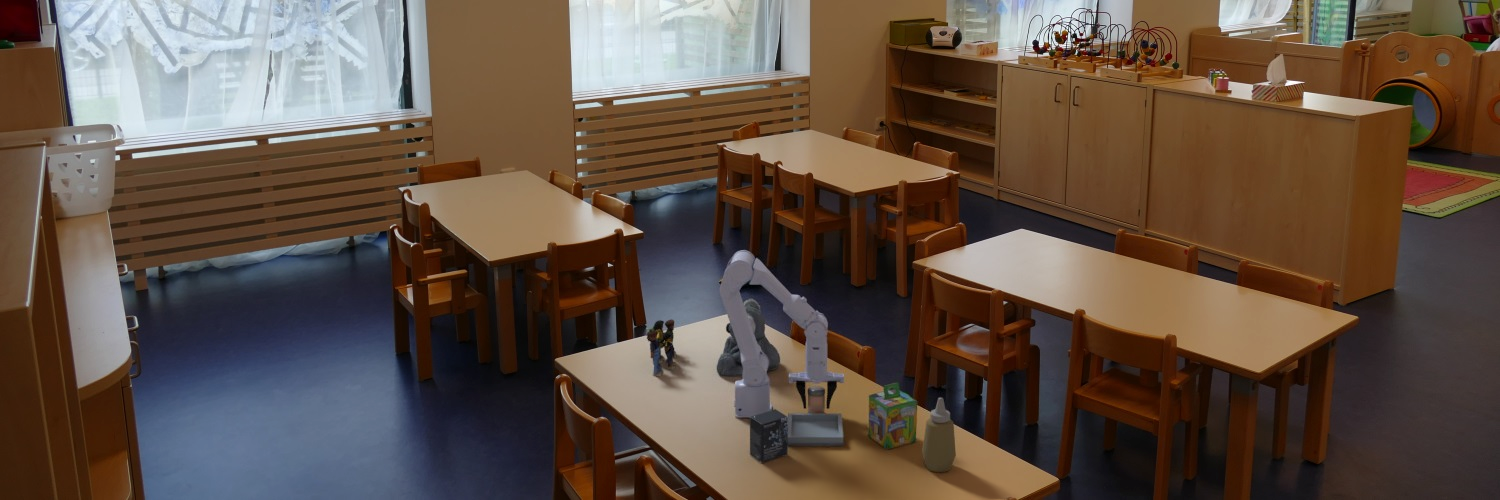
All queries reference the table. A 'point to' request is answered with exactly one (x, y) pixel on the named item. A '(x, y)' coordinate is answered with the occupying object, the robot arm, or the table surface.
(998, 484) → the table surface
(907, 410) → the chalk box
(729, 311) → the robot arm
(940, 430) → the squeeze bottle
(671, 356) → the doll family
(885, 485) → the table surface
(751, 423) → the box
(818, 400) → the shaker
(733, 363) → the koala plush
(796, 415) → the tray
